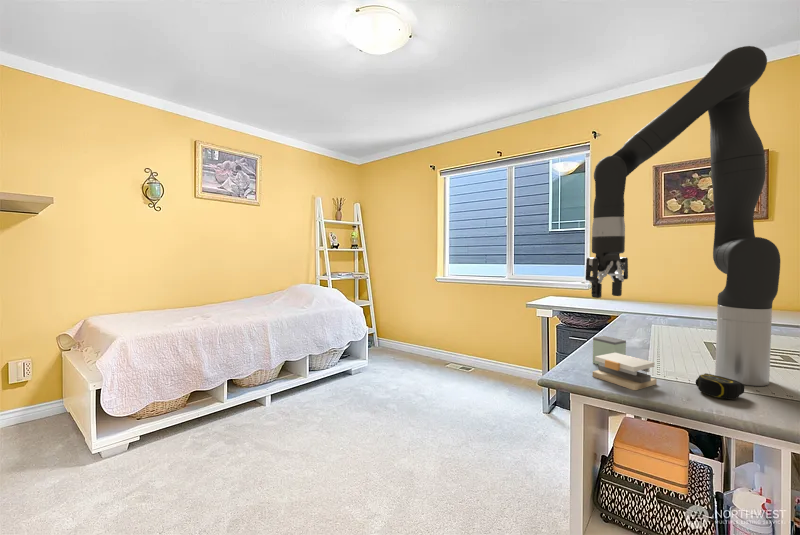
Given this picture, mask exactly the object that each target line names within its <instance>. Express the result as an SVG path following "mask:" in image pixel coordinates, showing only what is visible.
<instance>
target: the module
mask: <svg viewBox="0 0 800 535" xmlns="http://www.w3.org/2000/svg"><path fill="white" fill-rule="evenodd" d="M626 348H627V340H626V339H622V338H621V339H620V338H615V337H611V336H606V335H601V336H595V337H593V338H592V364H594V363H595V365H597V364H598V365H597V366H599V363H600V362H598V361H595V356H600V355H605V354H610V353H619V354H623V355H627V349H626Z"/></svg>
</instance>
